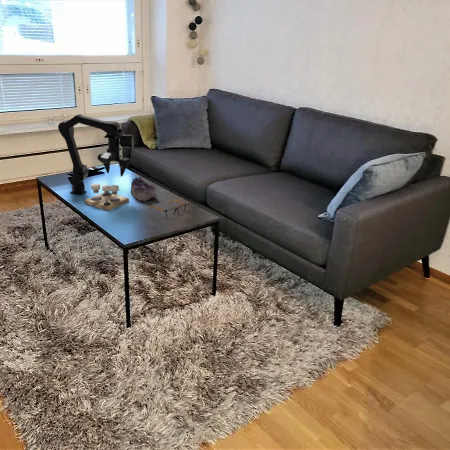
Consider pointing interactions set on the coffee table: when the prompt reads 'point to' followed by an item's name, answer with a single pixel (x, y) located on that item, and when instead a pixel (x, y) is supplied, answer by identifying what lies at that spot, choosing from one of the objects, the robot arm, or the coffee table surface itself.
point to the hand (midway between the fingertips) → (114, 174)
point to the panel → (101, 198)
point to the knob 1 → (95, 188)
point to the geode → (142, 189)
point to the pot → (107, 202)
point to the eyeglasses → (170, 209)
